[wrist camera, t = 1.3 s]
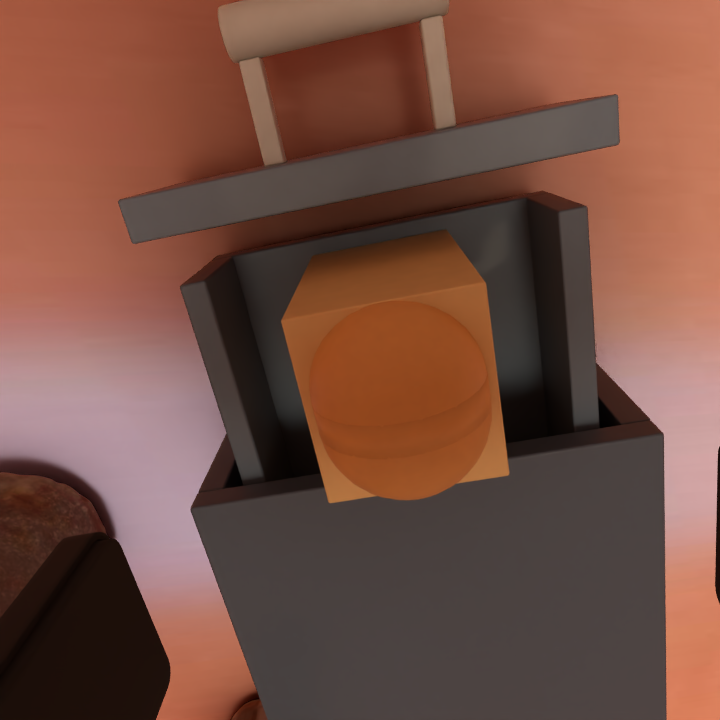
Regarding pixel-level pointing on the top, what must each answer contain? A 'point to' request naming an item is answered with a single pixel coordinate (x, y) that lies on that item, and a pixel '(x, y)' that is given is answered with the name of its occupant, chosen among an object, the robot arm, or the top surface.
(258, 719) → the sauce bottle
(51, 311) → the top surface
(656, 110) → the top surface
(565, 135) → the drawer
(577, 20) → the top surface
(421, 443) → the orange container
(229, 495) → the cabinet
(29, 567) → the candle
